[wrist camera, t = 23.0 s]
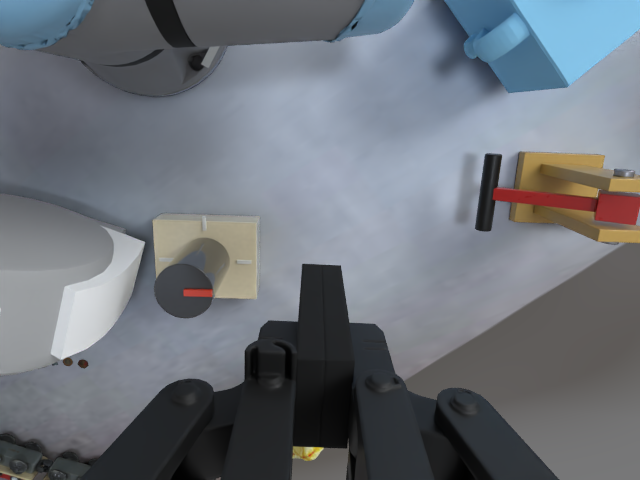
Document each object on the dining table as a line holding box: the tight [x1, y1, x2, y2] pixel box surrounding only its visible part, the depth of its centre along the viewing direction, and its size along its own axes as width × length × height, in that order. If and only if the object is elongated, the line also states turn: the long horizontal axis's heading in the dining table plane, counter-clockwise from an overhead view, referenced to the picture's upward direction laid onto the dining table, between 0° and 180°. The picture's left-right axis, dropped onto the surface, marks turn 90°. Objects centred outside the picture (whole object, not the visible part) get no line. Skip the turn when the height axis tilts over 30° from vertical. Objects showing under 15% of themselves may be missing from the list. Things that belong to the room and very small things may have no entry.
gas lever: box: [475, 153, 640, 231], centre depth 39 cm, size 12×7×2 cm, turn 88°
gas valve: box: [509, 152, 640, 245], centre depth 40 cm, size 8×7×12 cm
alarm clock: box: [0, 193, 145, 376], centre depth 37 cm, size 18×8×20 cm, turn 71°
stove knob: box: [154, 238, 230, 318], centre depth 40 cm, size 5×5×8 cm
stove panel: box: [152, 213, 260, 299], centre depth 46 cm, size 10×9×3 cm
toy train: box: [0, 434, 98, 480], centre depth 52 cm, size 4×22×5 cm
